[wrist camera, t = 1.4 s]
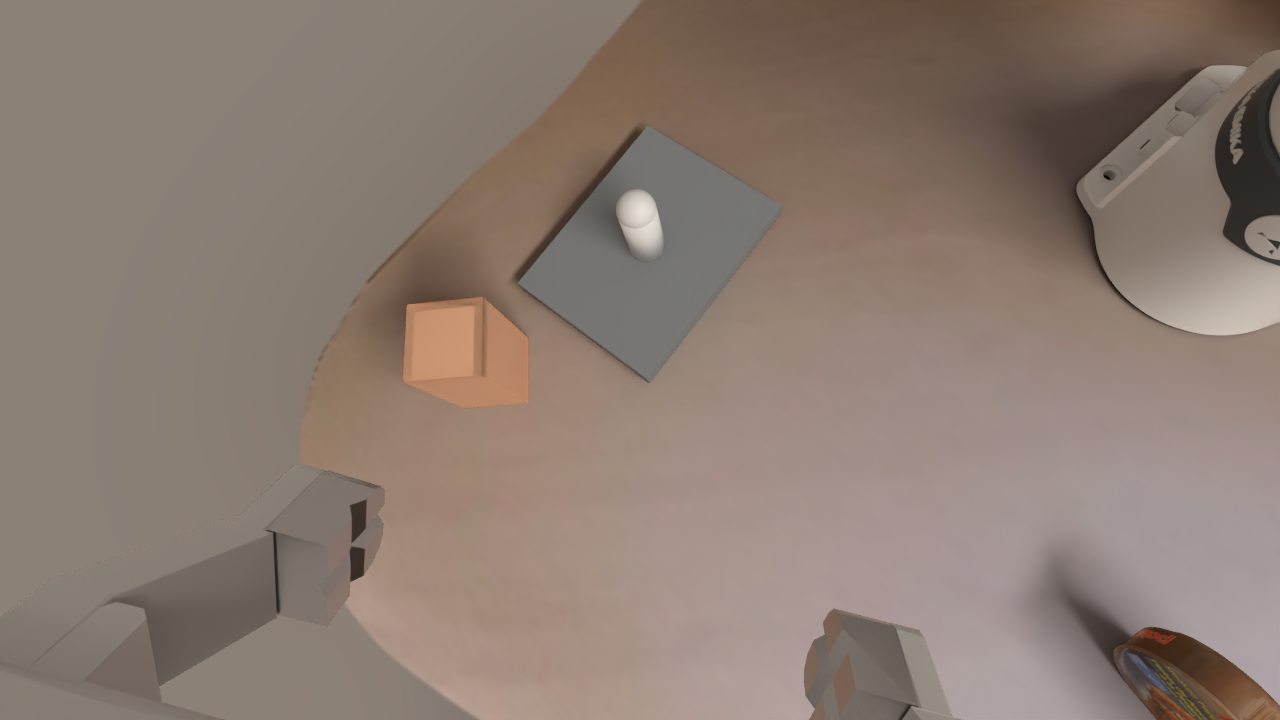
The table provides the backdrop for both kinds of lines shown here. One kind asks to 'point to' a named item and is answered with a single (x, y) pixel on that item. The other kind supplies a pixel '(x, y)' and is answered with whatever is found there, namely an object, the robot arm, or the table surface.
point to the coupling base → (665, 284)
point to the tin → (1189, 679)
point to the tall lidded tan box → (466, 353)
